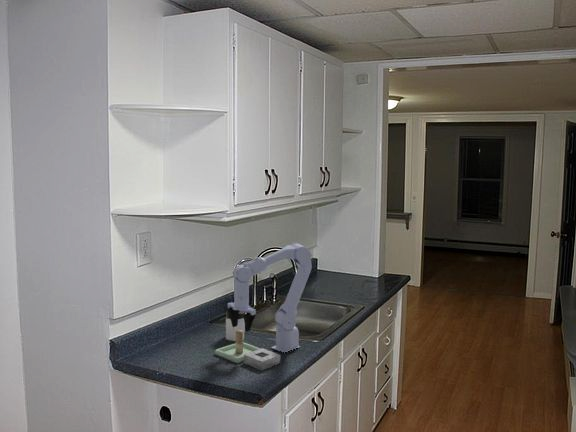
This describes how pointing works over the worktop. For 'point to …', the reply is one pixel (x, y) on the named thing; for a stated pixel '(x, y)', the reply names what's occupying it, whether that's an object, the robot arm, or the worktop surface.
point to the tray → (230, 354)
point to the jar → (232, 330)
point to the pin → (239, 342)
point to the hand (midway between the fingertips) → (241, 328)
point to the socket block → (261, 359)
